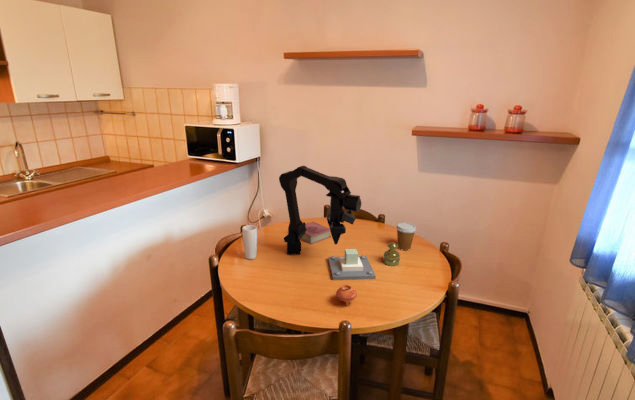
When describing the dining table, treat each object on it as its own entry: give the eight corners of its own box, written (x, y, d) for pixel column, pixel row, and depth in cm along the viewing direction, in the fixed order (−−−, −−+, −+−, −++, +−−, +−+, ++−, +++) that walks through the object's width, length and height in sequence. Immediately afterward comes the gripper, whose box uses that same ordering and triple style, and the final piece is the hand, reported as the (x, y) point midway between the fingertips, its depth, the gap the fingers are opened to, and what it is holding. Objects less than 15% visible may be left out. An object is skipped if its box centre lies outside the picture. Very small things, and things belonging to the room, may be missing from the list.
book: (312, 229, 197) (312, 221, 195) (330, 237, 186) (331, 229, 185) (292, 235, 188) (292, 227, 186) (310, 245, 177) (311, 236, 176)
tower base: (333, 280, 144) (333, 272, 143) (328, 259, 161) (328, 252, 160) (375, 278, 146) (376, 271, 145) (366, 258, 163) (366, 252, 162)
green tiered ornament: (399, 267, 156) (401, 247, 153) (382, 265, 157) (384, 245, 154) (399, 259, 163) (401, 240, 160) (383, 258, 164) (385, 238, 161)
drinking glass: (251, 262, 158) (250, 231, 153) (240, 258, 161) (238, 228, 156) (261, 256, 163) (260, 226, 159) (250, 252, 167) (249, 223, 162)
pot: (360, 306, 127) (357, 291, 125) (339, 311, 127) (336, 296, 125) (356, 293, 135) (353, 278, 132) (336, 297, 134) (333, 283, 132)
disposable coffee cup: (410, 253, 169) (413, 231, 166) (391, 249, 174) (394, 226, 170) (415, 246, 177) (418, 224, 173) (397, 242, 182) (399, 221, 178)
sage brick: (346, 264, 150) (346, 254, 148) (344, 259, 155) (344, 249, 153) (357, 264, 150) (358, 254, 149) (355, 259, 155) (356, 248, 154)
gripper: (359, 215, 142) (356, 249, 147) (351, 200, 160) (348, 231, 165) (332, 214, 141) (330, 249, 146) (327, 200, 159) (325, 231, 164)
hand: (334, 239), depth 155 cm, fingers open, 9 cm apart
